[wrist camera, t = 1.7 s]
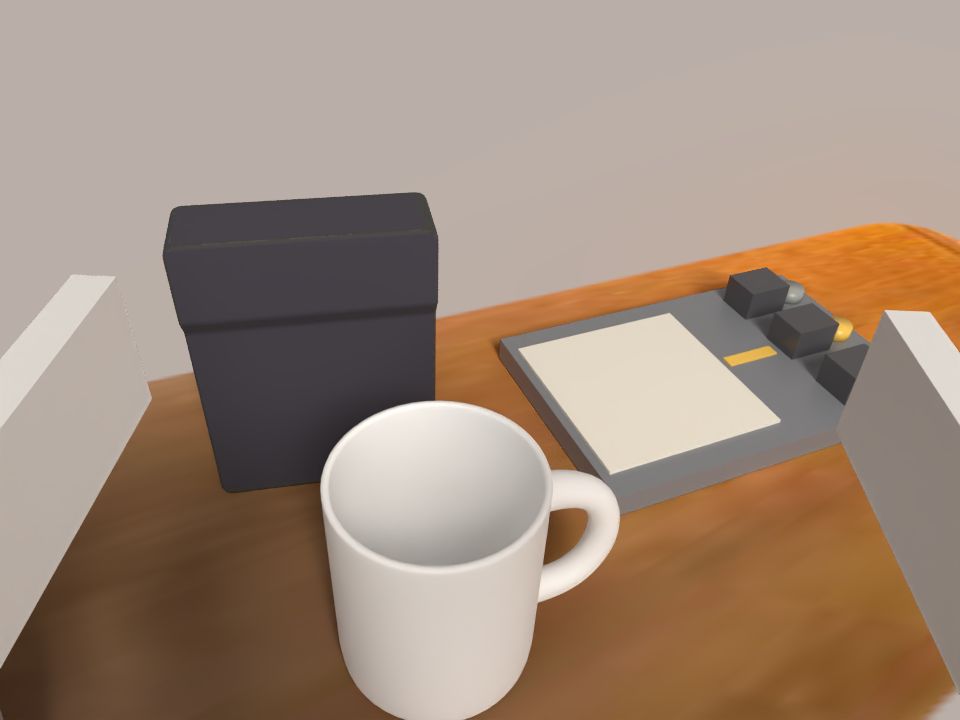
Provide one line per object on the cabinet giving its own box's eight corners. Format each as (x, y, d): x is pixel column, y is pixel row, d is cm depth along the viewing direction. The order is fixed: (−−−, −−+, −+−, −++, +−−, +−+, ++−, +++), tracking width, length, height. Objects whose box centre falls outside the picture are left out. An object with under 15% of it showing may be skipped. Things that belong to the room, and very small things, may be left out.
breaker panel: (611, 518, 40) (622, 470, 38) (499, 357, 50) (501, 312, 48) (928, 414, 48) (952, 368, 46) (775, 292, 58) (788, 250, 56)
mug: (569, 530, 40) (595, 371, 33) (641, 680, 34) (690, 519, 27) (328, 582, 37) (306, 419, 30) (358, 756, 31) (338, 597, 24)
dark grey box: (425, 422, 46) (423, 182, 36) (437, 477, 42) (439, 229, 33) (226, 444, 44) (169, 196, 34) (222, 504, 40) (159, 248, 31)
